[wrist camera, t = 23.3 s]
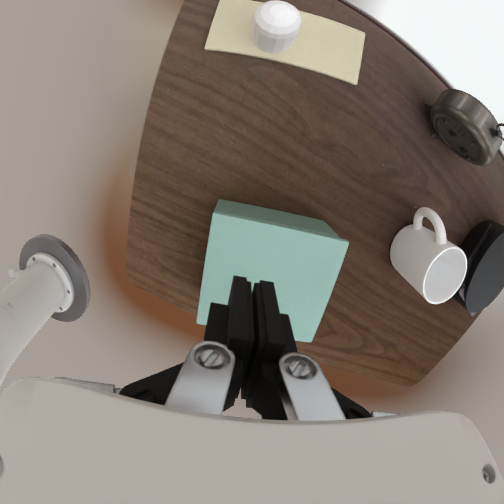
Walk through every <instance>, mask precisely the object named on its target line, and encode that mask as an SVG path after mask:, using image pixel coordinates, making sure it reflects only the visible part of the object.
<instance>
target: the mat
mask: <svg viewBox="0 0 504 504" xmlns="http://www.w3.org/2000/svg"><path fill="white" fill-rule="evenodd" d="M262 4H263V3H262V2H256V1H250V0H220V1H219V4H218V7H217V10H216V13H215V16H214V19H213V22H212V25H211V28H210V31H209V34H208V38H207V41H206V45H205V48H204V49H205V50H210V51H219V52H227V53H234V54H240V55H246V56H252V57H257V58H262V59H267V60H272V61H276V62H281V63H285V64H289V65H293V66H297V67H300V68H304V69H307V70H311V71H314V72H318V73H321V74H324V75H327V76H330V77H333V78H336V79H339V80H342V81H345V82H347V83H350V84H353V85H357V81H358V76H359V70H360V64H361V59H362V52H363V46H364V39H365V33H364V32H362V31H359V30H357V29H354V28H352V27H349V26H346V25H344V24H341V23H338V22H335V21H332V20H329V19H326V18H323V17H320V16H317V15H313V14H310V13H306V12H303V11H299V10H298V11H299V13H300V16H301V19H302V24H301V27H300V31H299V32H298V34H297V36H296V38H295V40H294V42H293V44H292V46H291V47H290V48H289V49H288V50H287V51H284V52H282V53H277V54H270V53H266V52H263V51H261V50H260V49H258V48H257V47H256V46H255V45H254V43H253V41H252V36H251V33H252V20H253V16H254V13H255V11H256V9H257V8H258V7H259V6H260V5H262Z"/></svg>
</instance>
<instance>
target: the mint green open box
mask: <svg viewBox="0 0 504 504" xmlns="http://www.w3.org/2000/svg"><path fill="white" fill-rule="evenodd" d="M214 211H215V212H221V213H226V214H231V215H236V216H241V217H246V218H250V219H255V220H260V221H265V222H270V223H274V224H279V225H284V226H288V227H293V228H297V229H302V230H306V231H311V232H315V233H319V234H324V235H328V236H332V237H337V238H339V236H338V235H337V234H336V233H335V232H334V231H333V230H332V229H331V228H330V227H329V226H328V225H327V224H326V223H325V222H324V221H323V220H318V219H314V218H310V217H305V216H301V215H296V214H292V213H287V212H282V211H278V210H273V209H268V208H263V207H258V206H253V205H248V204H243V203H238V202H233V201H227V200H222V199H219V201H218V203H217V205H216V208H215V210H214Z"/></svg>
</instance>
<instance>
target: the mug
mask: <svg viewBox="0 0 504 504" xmlns="http://www.w3.org/2000/svg"><path fill="white" fill-rule="evenodd" d="M423 217H427V218H428V219H429V220H430V221H431V222H432V224H433V226H434V229H435V233H434V232H432V231H431V230H429V229H427V228H426V227H423V226H422V219H423ZM390 259H391V263H392V265H393V266H394V268H395V269H396V270H397V271H398V272H399V273H400V274H401V275H402V276H403V277H404V278H405V279H406V280H407V281H408V282H409V283H410V284H411V285H412V286H413V287H414V288H415V289H416V290H417V291H418V292H419V293H420V294H421V295H422V296H423V297H424V298H425V299H426V300H427V301H428V302H430V303H432V304H439V303H443V302H445V301H447V300H448V299H449V298H451V297H452V296H453V295H454V294H455V293H456V292H457V290H458V289H459V288H460V286H461V284H462V282H463V280H464V278H465V275H466V270H467V259H466V255H465V253H464V252H463V250H462V249H460V248H459V247H457V246H456V245H454V244H452V243H451V242H449V241H448V240H446V232H445V228H444V225H443V222H442V220H441V219H440V217H439V216H438V214H437V213H436V212H434V211H433V210H432V209H430V208H427V207H422V208H420V209H418V210H417V211H416V213H415V215H414V219H413V224H412V225H408V226H406V227H404V228H403V229H401V230H400V231H399V232H398V233H397V235H396V236H395V238H394V239H393V242H392V244H391V248H390Z"/></svg>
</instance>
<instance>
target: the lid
mask: <svg viewBox="0 0 504 504" xmlns="http://www.w3.org/2000/svg"><path fill="white" fill-rule="evenodd" d="M348 245H349V242H348V240H345V239H341V238H337V237H332V236H328V235H324V234H319V233H315V232H311V231H306V230H302V229H297V228H293V227H288V226H284V225H279V224H274V223H270V222H265V221H260V220H255V219H250V218H246V217H241V216H236V215H231V214H226V213H221V212H215V211H214V212H213V215H212V221H211V227H210V233H209V239H208V245H207V251H206V258H205V264H204V271H203V278H202V285H201V292H200V299H199V306H198V314H197V324H202V325H207V319H208V314H209V308H210V303H211V302H213V303H219V304H225V305H228V300H229V295H230V290H231V285H232V280H233V276H234V275H235V276H241V277H247V281H250V282H251V286H252V290H253V286H254V283H255V282H256V283H259V282H260V280H264V281H270V282H274V287H275V291H276V296H277V301H278V306H279V311H280V313H282V314H288V315H289V318H290V323H291V327H292V331H293V335H294V339H295V340H296V341H303V342H312V339H313V337H314V335H315V332H316V330H317V328H318V325H319V323H320V320H321V318H322V315H323V313H324V310H325V308H326V305H327V303H328V300H329V298H330V295H331V292H332V290H333V287H334V285H335V282H336V279H337V276H338V274H339V271H340V268H341V265H342V262H343V259H344V256H345V254H346V251H347V248H348Z"/></svg>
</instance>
